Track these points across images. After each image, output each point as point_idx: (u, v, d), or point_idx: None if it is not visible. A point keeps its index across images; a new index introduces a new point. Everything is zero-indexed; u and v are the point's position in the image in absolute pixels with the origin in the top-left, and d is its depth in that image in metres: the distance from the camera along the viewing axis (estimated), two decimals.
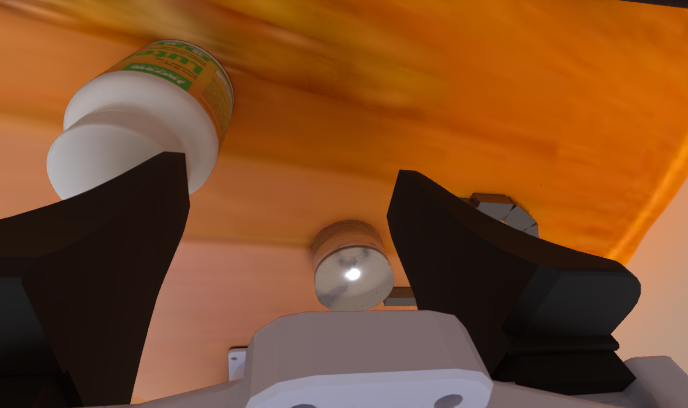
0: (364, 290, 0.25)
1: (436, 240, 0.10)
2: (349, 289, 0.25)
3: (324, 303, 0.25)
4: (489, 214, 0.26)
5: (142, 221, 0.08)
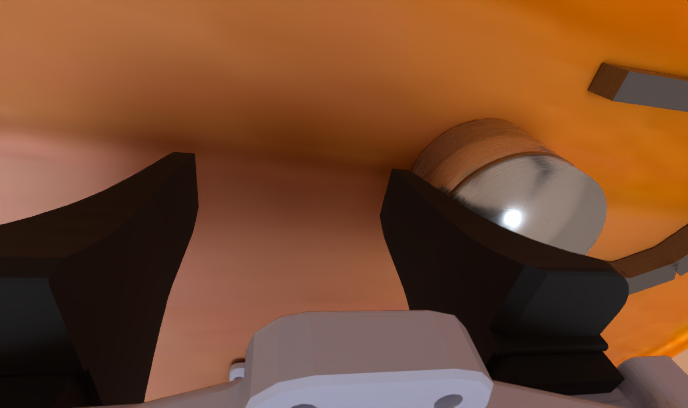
0: None
1: (427, 240, 0.10)
2: None
3: None
4: None
5: (155, 222, 0.08)
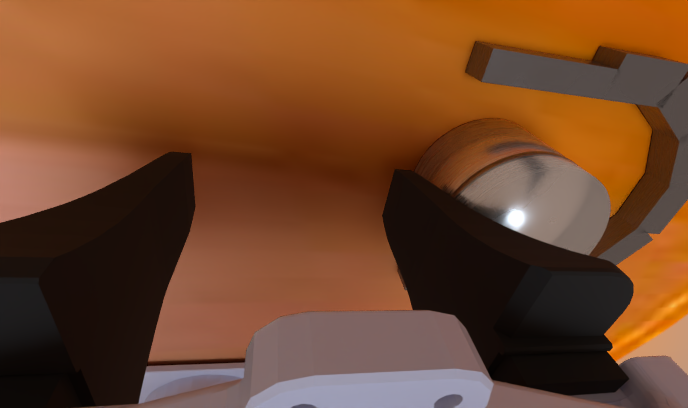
0: None
1: (430, 240, 0.10)
2: None
3: None
4: (636, 89, 0.12)
5: (150, 221, 0.08)
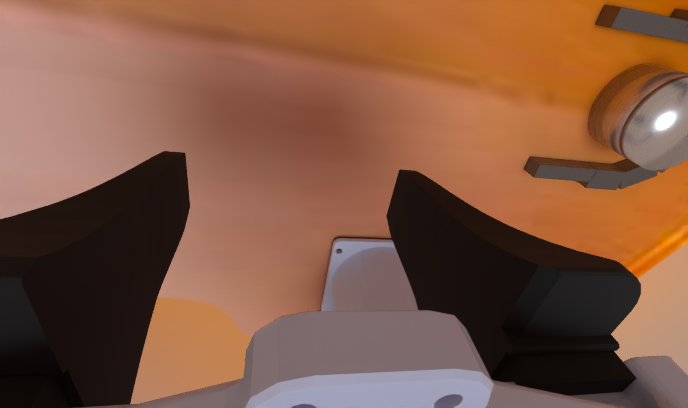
0: (686, 136, 0.21)
1: (436, 240, 0.10)
2: (673, 133, 0.21)
3: (637, 153, 0.21)
4: None
5: (142, 221, 0.08)
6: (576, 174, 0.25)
